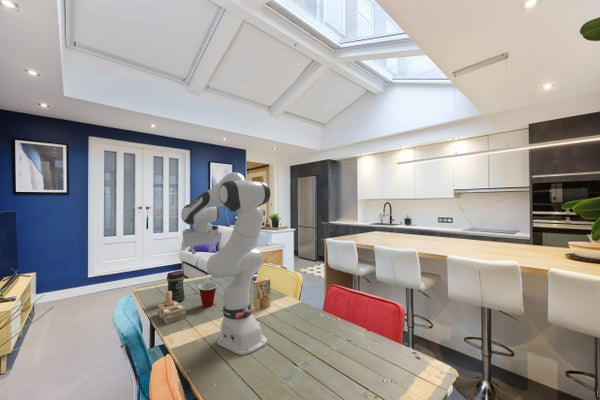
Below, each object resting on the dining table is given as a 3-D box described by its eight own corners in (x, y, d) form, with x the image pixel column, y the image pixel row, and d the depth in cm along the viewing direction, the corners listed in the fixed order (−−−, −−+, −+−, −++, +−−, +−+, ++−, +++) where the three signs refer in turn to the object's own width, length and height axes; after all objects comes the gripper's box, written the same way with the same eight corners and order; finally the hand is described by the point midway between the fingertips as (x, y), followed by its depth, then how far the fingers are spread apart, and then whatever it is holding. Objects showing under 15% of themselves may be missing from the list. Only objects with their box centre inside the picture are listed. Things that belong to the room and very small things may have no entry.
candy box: (267, 303, 151) (266, 277, 151) (270, 305, 148) (270, 279, 148) (253, 307, 146) (253, 281, 146) (257, 310, 142) (257, 282, 142)
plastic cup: (204, 311, 142) (204, 289, 142) (194, 306, 149) (194, 286, 149) (221, 304, 151) (221, 284, 151) (211, 300, 158) (210, 281, 158)
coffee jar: (172, 305, 151) (171, 274, 151) (164, 302, 155) (164, 272, 155) (187, 299, 159) (186, 270, 159) (179, 297, 163) (179, 268, 164)
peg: (172, 313, 140) (172, 292, 140) (167, 315, 137) (166, 293, 137) (171, 312, 142) (170, 290, 142) (165, 313, 140) (164, 292, 140)
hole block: (185, 318, 134) (185, 308, 134) (167, 324, 128) (167, 314, 128) (175, 309, 146) (175, 300, 146) (157, 314, 139) (157, 305, 139)
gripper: (184, 229, 131) (185, 256, 131) (221, 226, 146) (221, 250, 146) (180, 228, 136) (180, 254, 136) (216, 225, 150) (216, 249, 150)
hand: (202, 252), depth 141 cm, fingers open, 8 cm apart
